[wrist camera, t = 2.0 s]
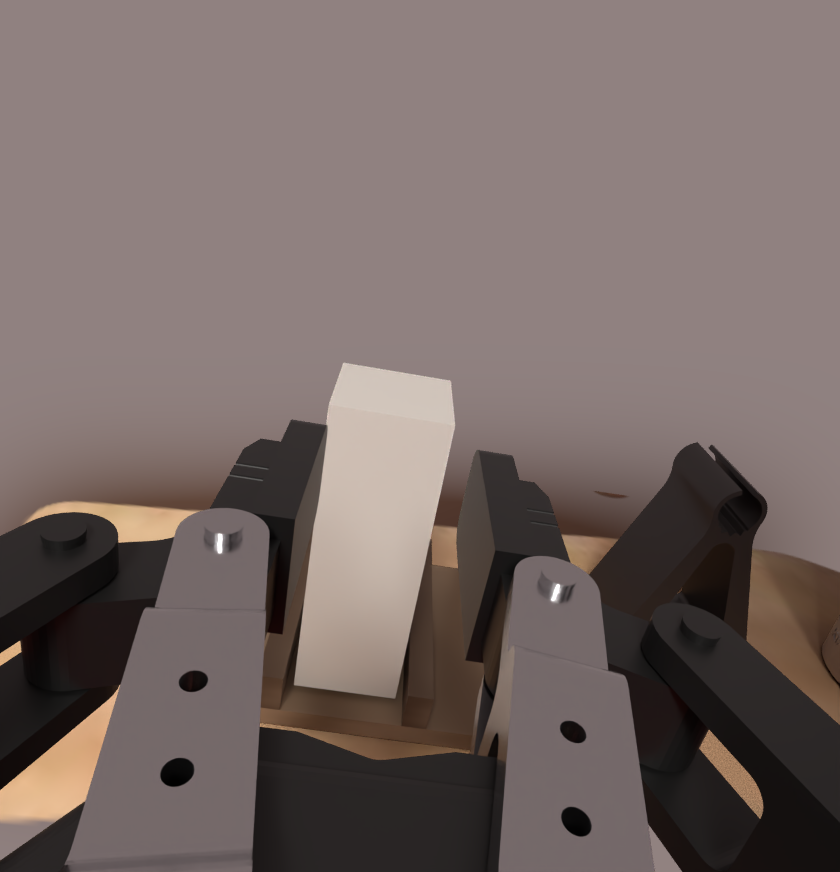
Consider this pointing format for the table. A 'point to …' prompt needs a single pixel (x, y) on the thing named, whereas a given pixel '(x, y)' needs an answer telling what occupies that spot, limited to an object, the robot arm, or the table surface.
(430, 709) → the ridged brown base plate
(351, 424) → the cream block
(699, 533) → the phone stand
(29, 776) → the table surface
